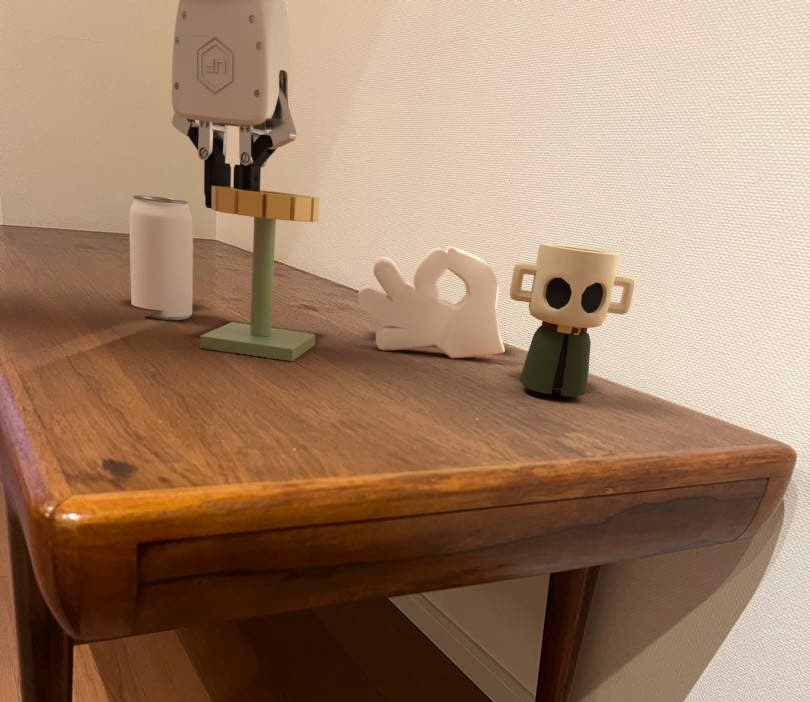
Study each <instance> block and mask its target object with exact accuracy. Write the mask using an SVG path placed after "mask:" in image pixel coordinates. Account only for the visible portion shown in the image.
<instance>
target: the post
mask: <svg viewBox="0 0 810 702" xmlns="http://www.w3.org/2000/svg"><path fill="white" fill-rule="evenodd" d="M276 224H277V219H268V218H264V217H263V218H259V217H253V236H252V237H253V238H252V239H253V241H252V266H251V267H252V268H251V270H252V271H251V275H252V276H251V297H250V298H251V299H250V324H247V323H241V322H233V321H232V322H228V323H227V324H225V325H222V326H220V327H218V328H215V329H212V330H210V331H208V332H206V333H203V334H201V335H200V336H199V349H202V348H204V349H203V350H209V349H210V350H209V351H216V350H217V351H216V352H225V353H229V354H230V353H231V354H236V353H239V354H238V355H243V354H246V355H245V356H250V355H252V357H257V356H260V357H259V358H264V357H265V359H270V360H271V359H272V360H277V359H279V361H284V360H286V361H285V362H291V361H292V362H294V361H296V359H298V358H299V357H300V356H302V355H303V354H305V353H306V352H308V351H309V350H311V349H312V348H313V347H315V344H316V334H315V333H311V332H303V331H296V330H289V329H282V328H277V327H272V316H273V315H272V314H273V294H274V293H273V292H274V271H275V249H276V248H275V247H276V226H277V225H276Z"/></svg>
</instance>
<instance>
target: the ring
mask: <svg viewBox="0 0 810 702" xmlns="http://www.w3.org/2000/svg"><path fill="white" fill-rule="evenodd" d="M210 209H211V211H215V212H218V213H225V214H231V215H238V216H245V217H250V218H251V217H252V218H254V217H259V218H263V217H264V218H268V219H276V220H281V221H289V222H290V221H292V222H302V223H303V222H304V223H315V222H319V212H320V198H319V197H315V196H310V195H305V194H303V195H302V194H296V193H288V192H282V191H281V192H280V191H273V190H264V189H260V192H255V191H247V190H241V189H235V188H233V186H231V187H227V186H212V194H211V208H210Z"/></svg>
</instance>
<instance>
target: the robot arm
mask: <svg viewBox="0 0 810 702" xmlns="http://www.w3.org/2000/svg"><path fill="white" fill-rule="evenodd" d="M288 17H289V16H288V11H287V4H286V2H285V0H179V1H178V6H177V12H176V17H175V26H174V33H173V45H172V46H173V47H172V58H171V59H172V63H171V106H172V109H173V111H174V113H173V117H172V118H171V119H172V120H171V124H172V127H174V128H175V129H176V130H177V131H179V132H180V133H182V134H183V135H184V136H186V137H188V139H189V140H190V142H191V143H192V145H193V146H194V148H195V149H196V150H197V156H198V158H199V159H200V160H201V161H204V162H203V176H204V177H203V194H204V205H205V207H206V209H211V194H212V186H227V187H233V188H235V189H241V190H247V191H255V192H260V190H261V171H262V170H261V169H262V168H264V167H266V165H267V163H268V159H270V157H271V156H272V155H273V154H274V153H275V152H276V151H277V149H279V148H282V147H283V146H286V145H288V144H291V143H293V142H294V141H295V140H296V139H297V135H298V134H297V131H296V127H295V124H294V121H293V118H292V113H291V110H292V98H293V97H292V95H293V93H292V91H293V86H292V85H293V73H292V72H293V71H292V70H293V68H292V67H293V66H292V46H291V34H290V24H289V18H288ZM196 121H198V122H196ZM229 126H230V127H238V146H239V147H238V152H239V155H238V156H239V164H237V163H236V164H234V167H233V184H232V166H231V163H228V162H226V159H227V147H228V127H229Z"/></svg>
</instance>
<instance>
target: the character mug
mask: <svg viewBox="0 0 810 702" xmlns="http://www.w3.org/2000/svg"><path fill="white" fill-rule="evenodd" d="M537 250H538V251H537V257H536V262H535V263H532V262H524V261H519V262H516V263H515V264H514V267H513V269H512V275H511V282H510V288H509V297H510V299H511V300H513V301H515V302H523V303H528V310H529V315H530V316H532V317H533V318H535V319H536V320H538V321H541V325H539V327H537V328H536V330H535V332H534V333H533V336H532V339H531V342H530V345H529V348H528V351H527V355H526V357H525V360H524V363H523V367H522V372H521V374H520V378H519V381H520V383H521V385H522V386H523V387H524V388H526V389H529V390H531V391H533V392H536V393H542V394H545V395H552V391H553V389H561V391H560V396H562V397H580V396H584V395H585V394H586V391H587V388H588V381H589V380H588V379H589V371H590V357H591V346H592V345H591V344H592V343H591V342H592V341H591V337H590V334H589V333H588V329H590V328H591V329H592V328H598V327H601V326H602V325H603V323H604V322H605V320H606V319H607V316H608V313H609V314H616V315H625V314H628V313H629V311H630V309H631V305H632V301H633V297H634V292H635V290H636V289H635V288H636V277H633V276H631V275H625V274H617V271H618V266H619V261H620V253H618V252H614V251H610V250H605V249H600V248H593V247H587V246H578V245H571V244H563V243H551V242H541V243H539V247H538V249H537ZM525 275H528V276H529V275H530V276H533V279H532V285H531V290H523V289H522V287H523V280H524V276H525ZM614 287H619V288H620V287H622V288H623V289H622V293H621V297H620V301H619V302H616V301H611V297H612V295H613V294H612V293H613V290H614V289H613V288H614Z"/></svg>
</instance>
